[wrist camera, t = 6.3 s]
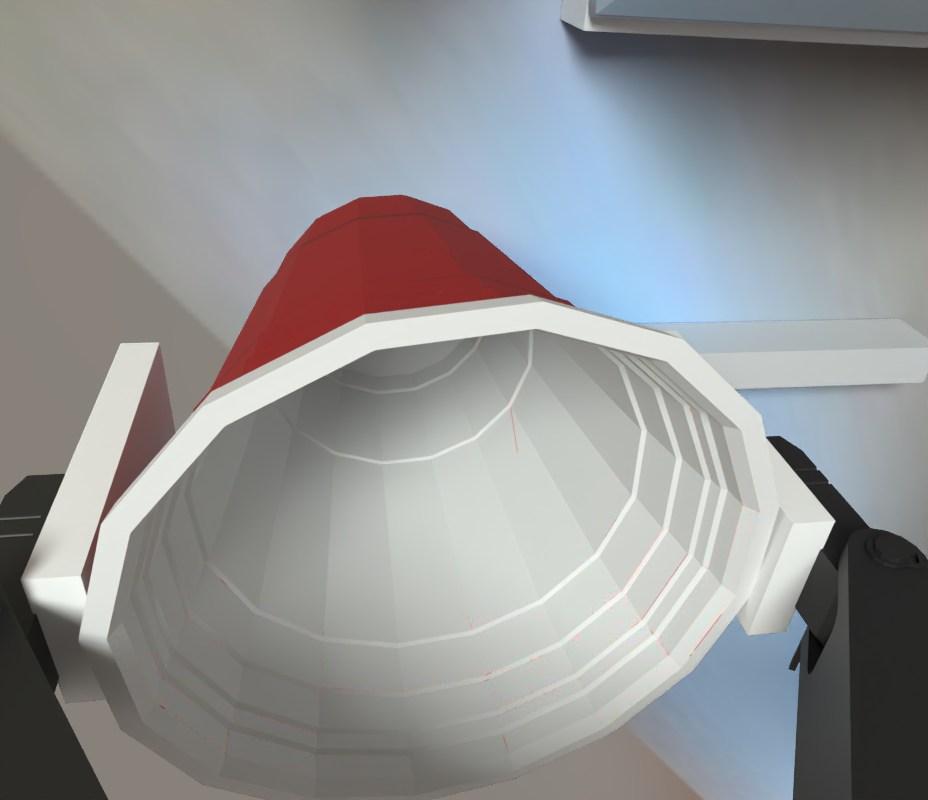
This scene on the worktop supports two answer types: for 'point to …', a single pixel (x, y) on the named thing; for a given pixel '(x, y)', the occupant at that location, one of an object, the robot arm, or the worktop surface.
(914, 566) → the robot arm
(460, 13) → the worktop surface
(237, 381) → the plastic cup
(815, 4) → the door
